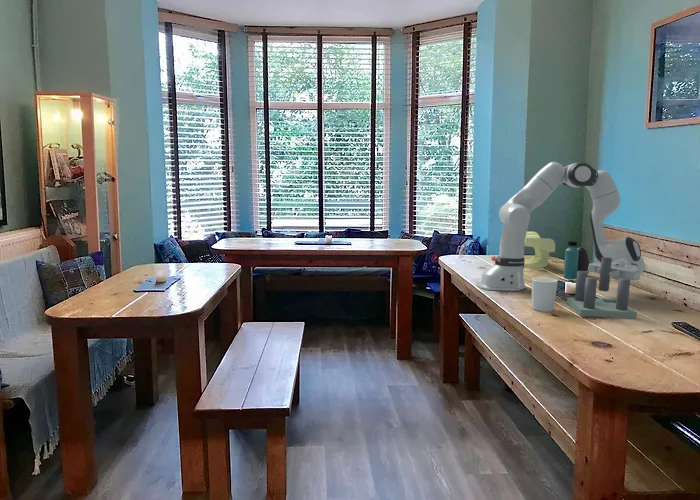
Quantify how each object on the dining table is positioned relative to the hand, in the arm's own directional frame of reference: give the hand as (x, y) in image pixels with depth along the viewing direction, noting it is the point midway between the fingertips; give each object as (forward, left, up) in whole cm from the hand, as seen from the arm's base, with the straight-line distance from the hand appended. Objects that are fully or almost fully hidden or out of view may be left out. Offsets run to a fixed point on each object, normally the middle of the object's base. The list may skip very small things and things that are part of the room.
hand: (604, 272), depth 233 cm
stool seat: (-11, -16, -12) cm, 22 cm away
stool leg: (+1, 0, -8) cm, 8 cm away
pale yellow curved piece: (+7, +80, -12) cm, 82 cm away
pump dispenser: (+19, +50, -12) cm, 55 cm away
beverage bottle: (+7, +38, -12) cm, 41 cm away
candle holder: (-33, -12, -12) cm, 37 cm away
